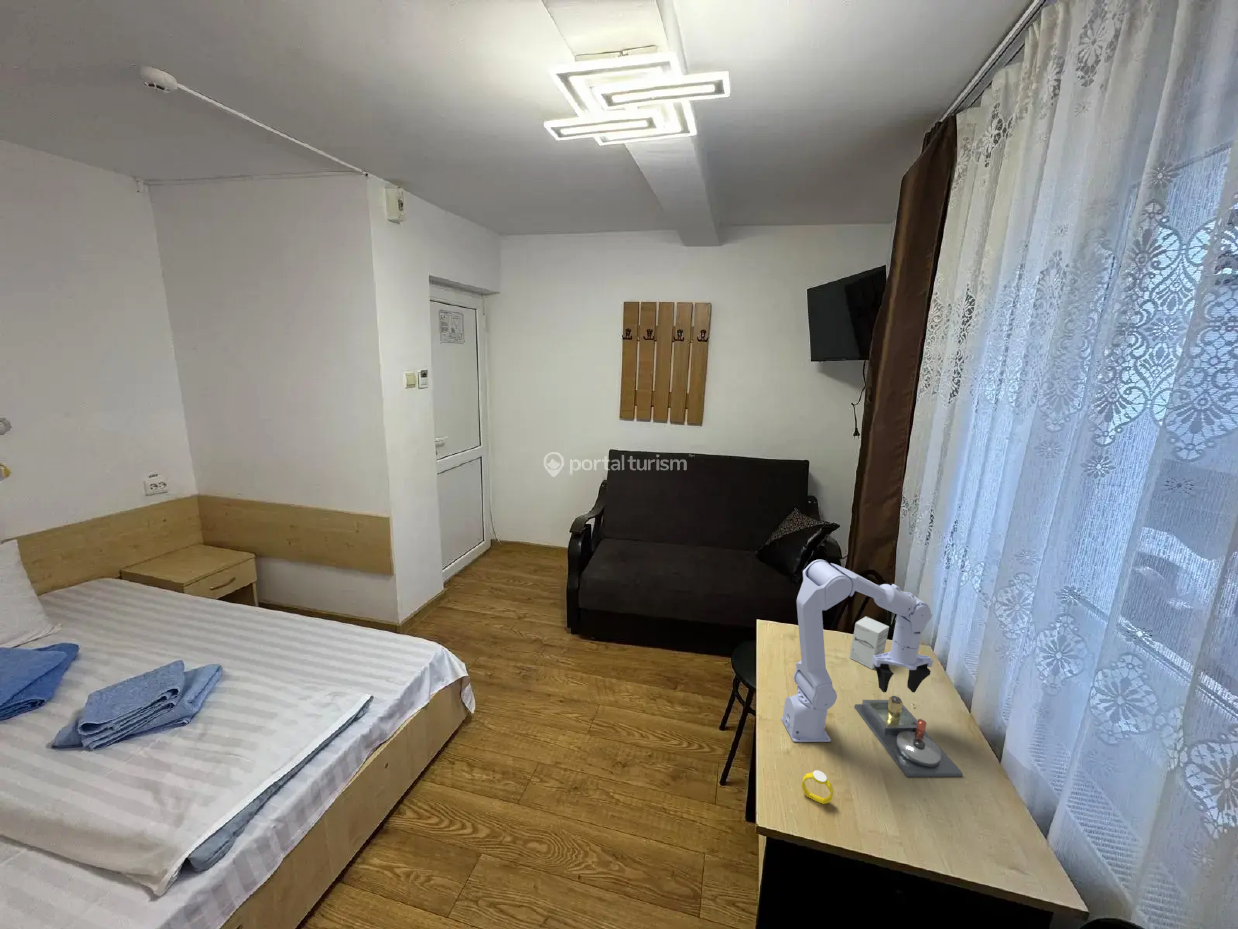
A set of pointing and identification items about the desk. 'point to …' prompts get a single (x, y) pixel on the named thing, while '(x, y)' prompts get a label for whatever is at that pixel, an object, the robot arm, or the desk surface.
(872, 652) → the supplement box
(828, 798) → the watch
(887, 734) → the crank bench
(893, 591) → the robot arm
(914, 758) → the crank
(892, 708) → the cylinder
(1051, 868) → the desk surface
